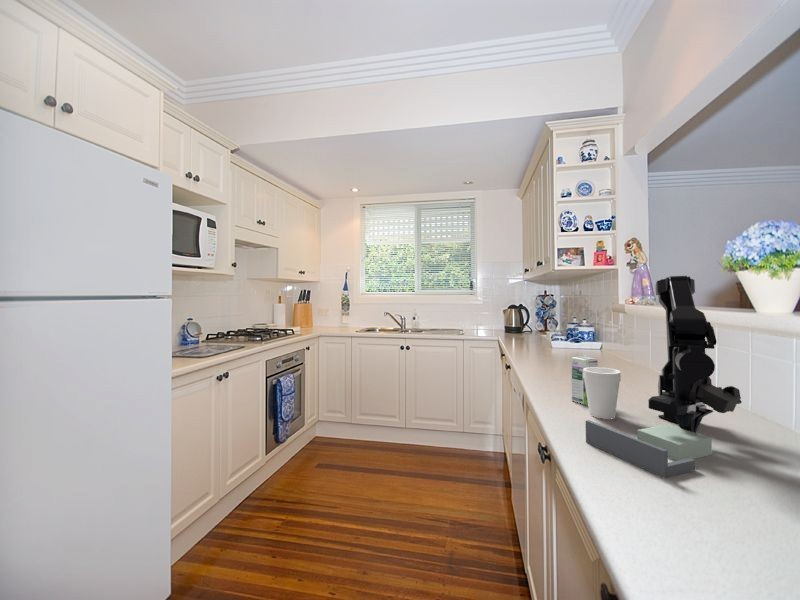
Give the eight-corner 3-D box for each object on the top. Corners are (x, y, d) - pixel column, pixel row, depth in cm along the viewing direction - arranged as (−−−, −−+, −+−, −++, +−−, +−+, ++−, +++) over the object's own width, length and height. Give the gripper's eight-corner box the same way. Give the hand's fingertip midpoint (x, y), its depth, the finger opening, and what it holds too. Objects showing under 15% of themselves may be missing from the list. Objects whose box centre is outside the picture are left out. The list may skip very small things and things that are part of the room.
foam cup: (621, 423, 95) (620, 375, 95) (582, 417, 100) (581, 371, 100) (621, 413, 103) (620, 369, 103) (585, 408, 108) (584, 366, 108)
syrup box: (570, 401, 116) (570, 357, 116) (583, 398, 119) (582, 355, 119) (586, 405, 111) (585, 359, 111) (598, 403, 114) (598, 358, 114)
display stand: (613, 437, 86) (612, 416, 86) (695, 470, 69) (694, 444, 69) (585, 441, 83) (585, 420, 83) (664, 477, 66) (663, 451, 66)
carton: (668, 441, 84) (667, 424, 84) (711, 456, 76) (711, 437, 76) (637, 447, 81) (637, 429, 81) (679, 464, 73) (679, 444, 73)
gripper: (700, 381, 71) (702, 460, 71) (758, 374, 77) (760, 446, 77) (646, 371, 81) (647, 439, 81) (700, 366, 87) (702, 429, 87)
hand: (689, 439), depth 81 cm, fingers closed
